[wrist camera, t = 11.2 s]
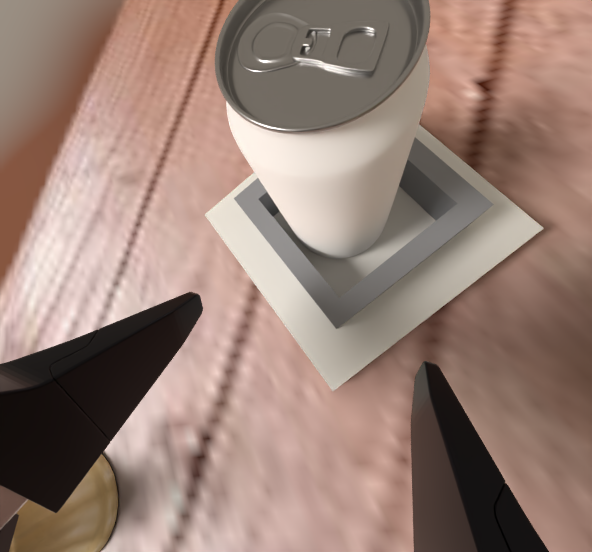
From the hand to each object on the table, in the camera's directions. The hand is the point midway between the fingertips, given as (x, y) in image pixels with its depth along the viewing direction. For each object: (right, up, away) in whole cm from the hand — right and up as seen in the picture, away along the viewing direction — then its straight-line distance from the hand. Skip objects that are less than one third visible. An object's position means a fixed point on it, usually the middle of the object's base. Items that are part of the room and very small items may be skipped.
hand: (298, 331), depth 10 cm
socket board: (+4, +6, +9) cm, 12 cm away
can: (+3, +6, +8) cm, 11 cm away
